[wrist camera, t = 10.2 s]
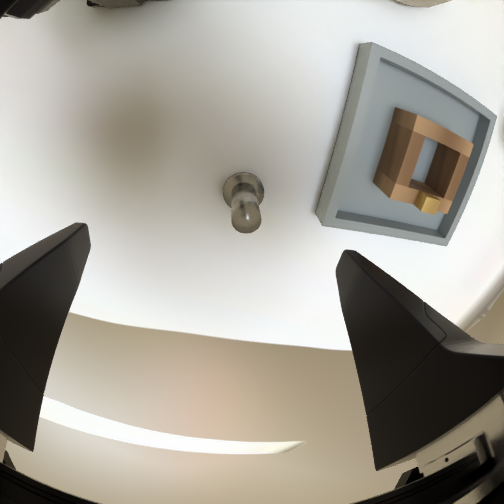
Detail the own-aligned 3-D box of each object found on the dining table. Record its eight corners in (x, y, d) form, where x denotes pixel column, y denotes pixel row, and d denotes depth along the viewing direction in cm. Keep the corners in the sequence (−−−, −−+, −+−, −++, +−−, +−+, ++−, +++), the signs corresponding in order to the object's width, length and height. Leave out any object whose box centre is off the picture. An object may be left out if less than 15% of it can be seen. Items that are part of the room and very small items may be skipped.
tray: (359, 43, 15) (372, 42, 13) (482, 110, 17) (496, 115, 15) (315, 213, 22) (322, 225, 21) (436, 235, 25) (446, 246, 23)
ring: (372, 182, 21) (396, 205, 17) (395, 107, 17) (426, 117, 14) (428, 197, 21) (453, 220, 18) (451, 133, 18) (481, 148, 15)
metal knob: (226, 170, 20) (225, 195, 16) (267, 175, 20) (275, 201, 17) (221, 206, 22) (219, 238, 18) (259, 211, 22) (265, 243, 18)
